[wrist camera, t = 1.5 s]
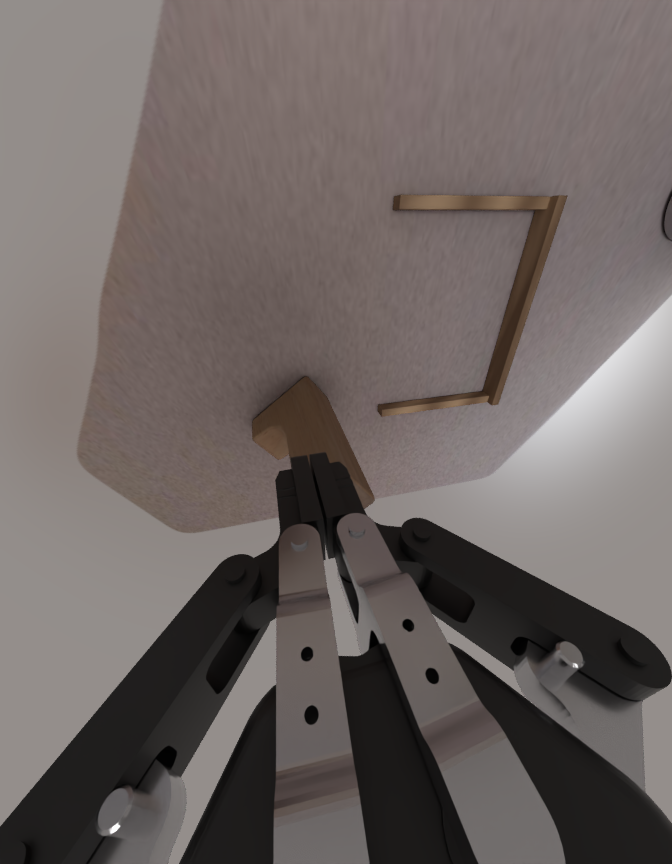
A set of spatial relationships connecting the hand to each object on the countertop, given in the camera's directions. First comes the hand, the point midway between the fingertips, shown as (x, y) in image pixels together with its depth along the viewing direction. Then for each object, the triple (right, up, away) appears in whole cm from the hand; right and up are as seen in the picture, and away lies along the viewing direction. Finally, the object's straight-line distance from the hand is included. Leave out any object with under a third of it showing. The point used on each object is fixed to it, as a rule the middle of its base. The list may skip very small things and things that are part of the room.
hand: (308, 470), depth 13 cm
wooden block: (-5, +5, +24) cm, 25 cm away
